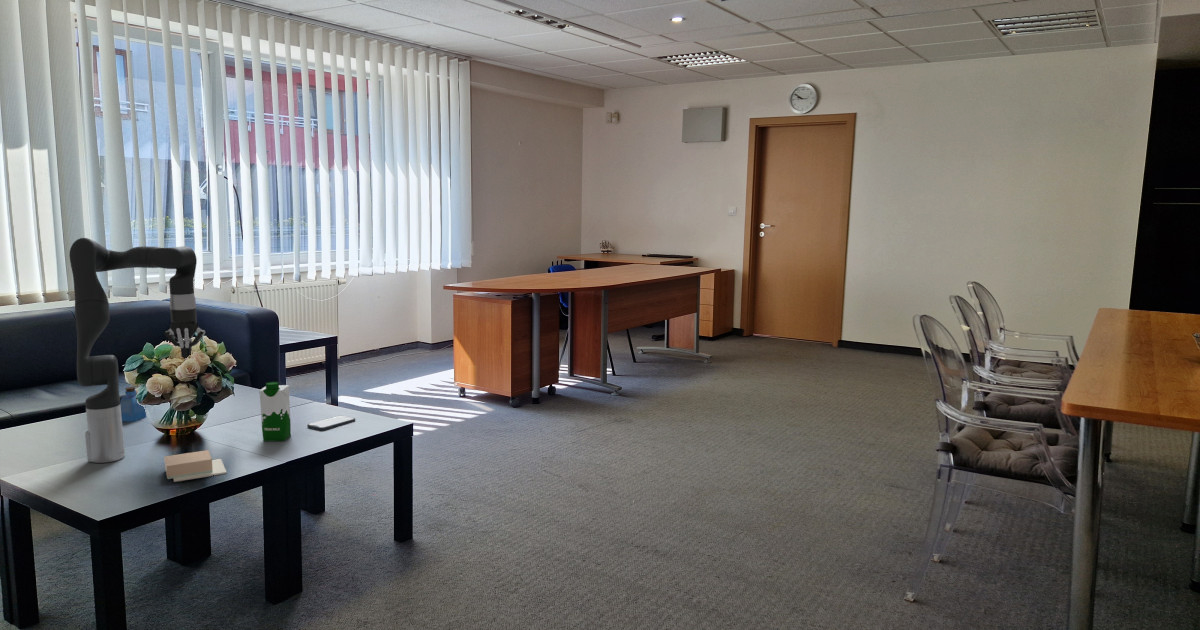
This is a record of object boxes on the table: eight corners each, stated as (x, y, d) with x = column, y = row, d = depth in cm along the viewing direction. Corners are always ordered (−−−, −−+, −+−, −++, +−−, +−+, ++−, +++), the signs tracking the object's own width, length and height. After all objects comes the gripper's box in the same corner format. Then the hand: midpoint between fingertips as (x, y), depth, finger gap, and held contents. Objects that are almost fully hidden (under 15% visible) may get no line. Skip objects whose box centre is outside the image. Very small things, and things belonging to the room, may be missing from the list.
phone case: (340, 419, 297) (305, 428, 283) (340, 414, 297) (305, 424, 283) (357, 422, 292) (322, 432, 279) (356, 418, 292) (322, 428, 279)
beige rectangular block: (166, 466, 228) (211, 459, 235) (164, 456, 237) (208, 450, 243) (167, 479, 229) (212, 471, 235) (165, 469, 237) (209, 462, 244)
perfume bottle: (146, 417, 295) (143, 386, 293) (134, 421, 289) (131, 390, 287) (131, 416, 296) (128, 385, 294) (119, 421, 290) (116, 389, 288)
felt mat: (174, 481, 228) (173, 480, 228) (170, 468, 240) (170, 466, 240) (226, 473, 236) (226, 471, 235) (220, 460, 247) (220, 458, 247)
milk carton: (259, 442, 266) (256, 384, 263) (268, 434, 275) (265, 378, 272) (286, 441, 266) (283, 384, 263) (294, 434, 275) (291, 378, 272)
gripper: (208, 305, 263) (211, 356, 265) (166, 305, 261) (170, 356, 264) (199, 308, 255) (203, 360, 258) (157, 309, 254) (161, 361, 256)
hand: (186, 358), depth 261 cm, fingers closed
